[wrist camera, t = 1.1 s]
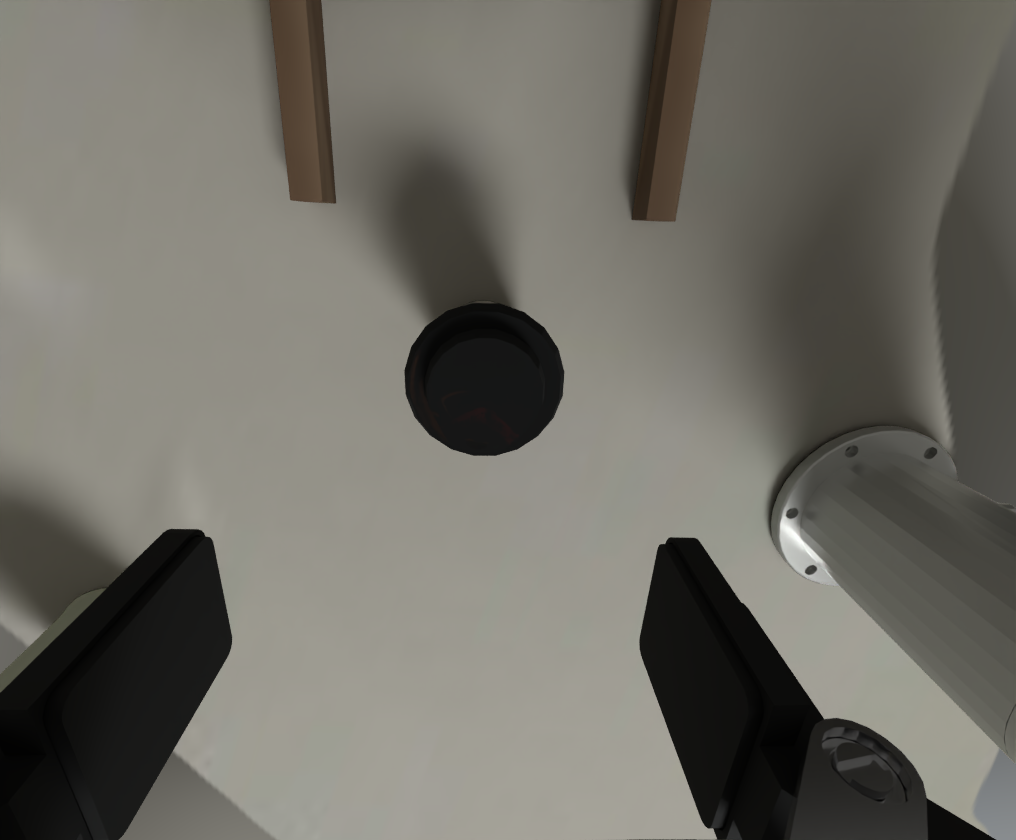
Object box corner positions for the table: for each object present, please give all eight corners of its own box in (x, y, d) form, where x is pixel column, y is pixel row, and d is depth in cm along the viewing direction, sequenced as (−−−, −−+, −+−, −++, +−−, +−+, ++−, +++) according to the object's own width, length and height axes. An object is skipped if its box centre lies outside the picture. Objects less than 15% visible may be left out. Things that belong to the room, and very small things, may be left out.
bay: (717, -170, 22) (762, -242, 18) (658, 221, 27) (683, 221, 24) (267, -221, 20) (225, -309, 17) (306, 201, 26) (281, 199, 23)
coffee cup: (432, 268, 28) (409, 293, 18) (552, 291, 29) (588, 325, 19) (417, 385, 30) (390, 458, 21) (528, 402, 31) (550, 480, 22)
